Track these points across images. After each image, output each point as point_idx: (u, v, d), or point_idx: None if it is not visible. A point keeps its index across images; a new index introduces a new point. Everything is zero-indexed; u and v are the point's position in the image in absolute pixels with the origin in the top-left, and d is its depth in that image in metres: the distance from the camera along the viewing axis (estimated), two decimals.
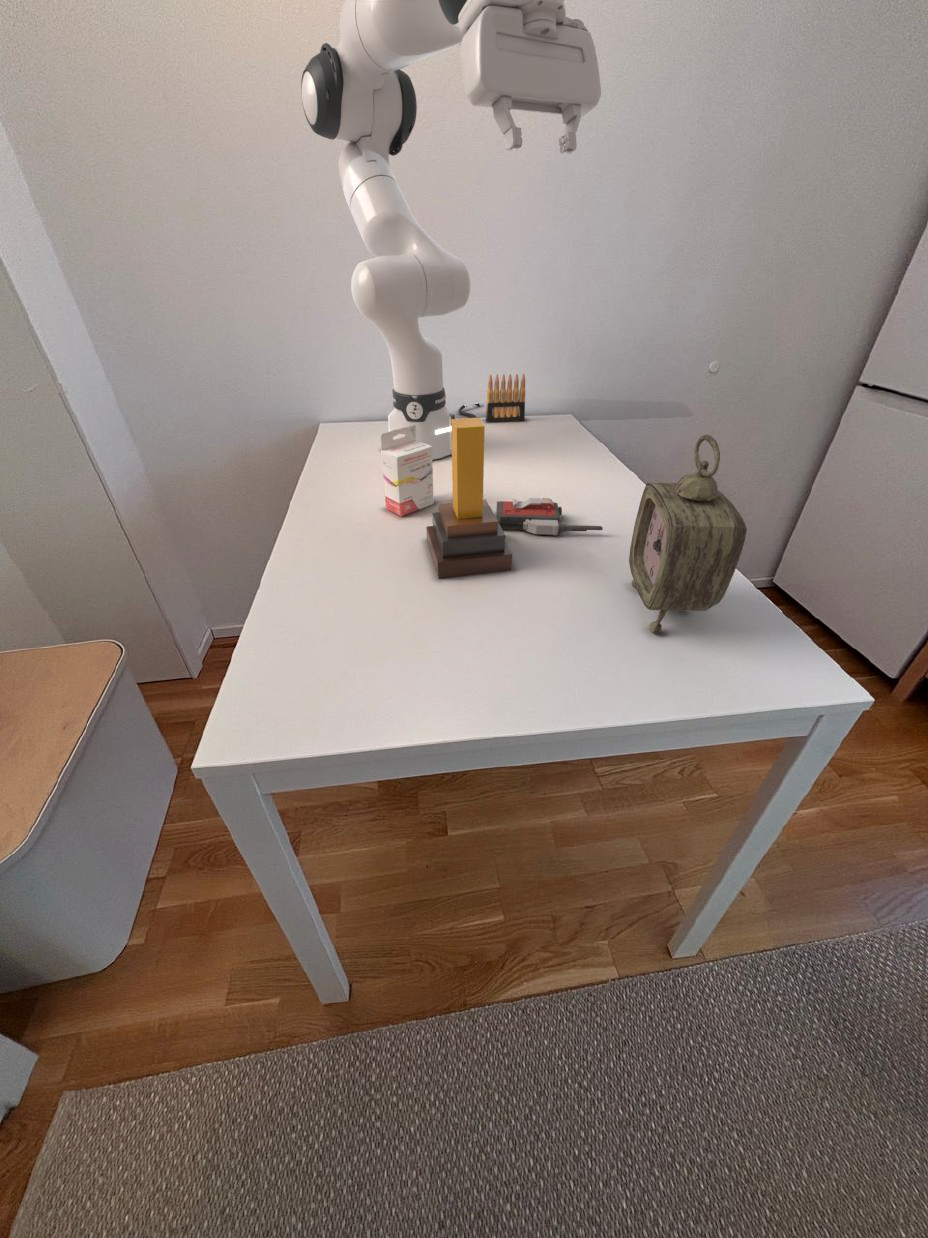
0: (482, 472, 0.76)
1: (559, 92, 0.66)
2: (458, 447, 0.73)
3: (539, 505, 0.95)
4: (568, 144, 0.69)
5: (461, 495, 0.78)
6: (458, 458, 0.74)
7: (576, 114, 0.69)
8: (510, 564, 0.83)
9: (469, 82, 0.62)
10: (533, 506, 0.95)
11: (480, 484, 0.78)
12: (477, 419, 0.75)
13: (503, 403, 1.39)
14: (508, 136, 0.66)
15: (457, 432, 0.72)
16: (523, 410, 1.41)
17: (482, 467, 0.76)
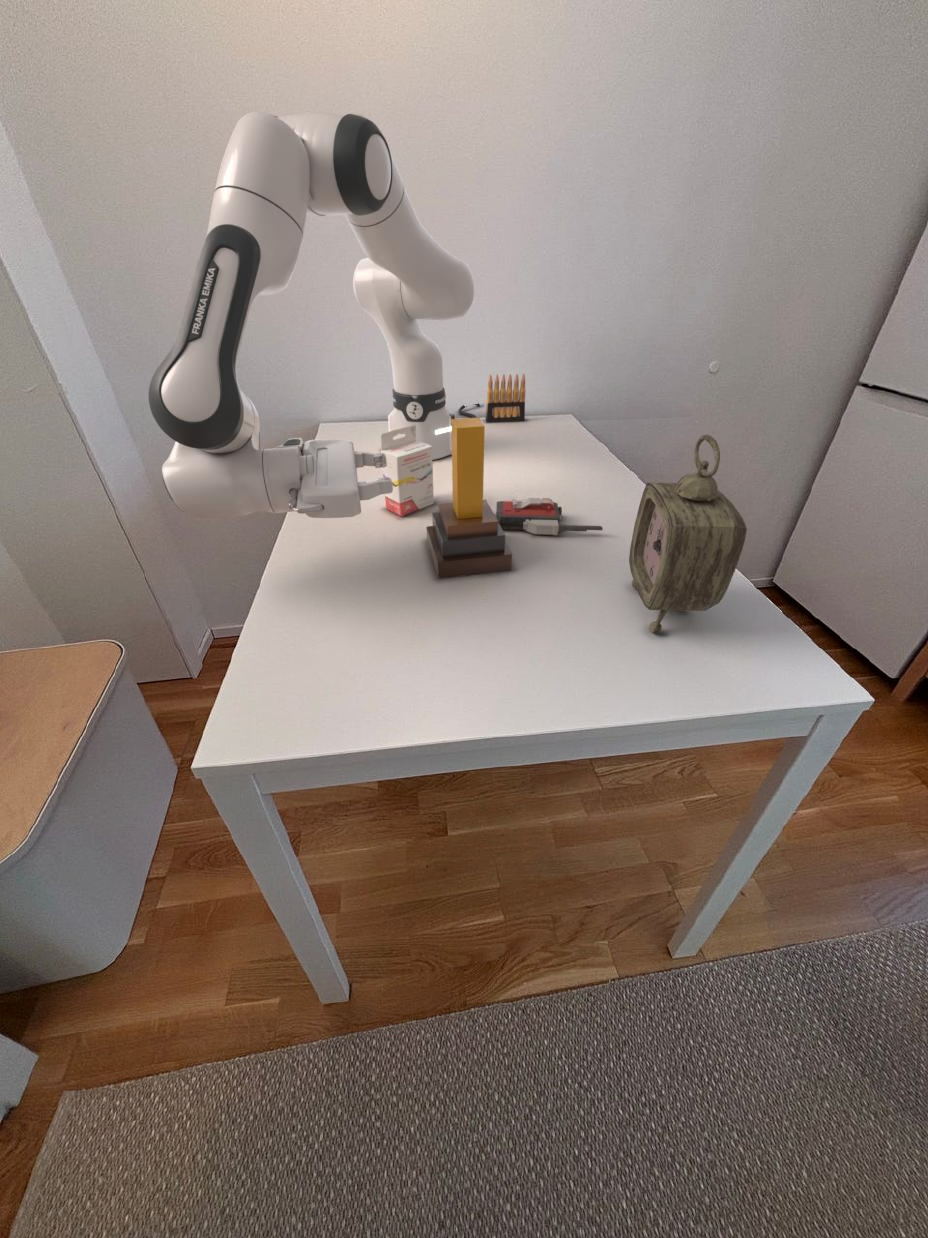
0: (482, 472, 0.76)
1: None
2: (458, 447, 0.73)
3: (539, 505, 0.95)
4: None
5: (461, 495, 0.78)
6: (458, 458, 0.74)
7: None
8: (510, 564, 0.83)
9: None
10: (533, 506, 0.95)
11: (480, 484, 0.78)
12: (477, 419, 0.75)
13: (503, 403, 1.39)
14: None
15: (457, 432, 0.72)
16: (523, 410, 1.41)
17: (482, 467, 0.76)
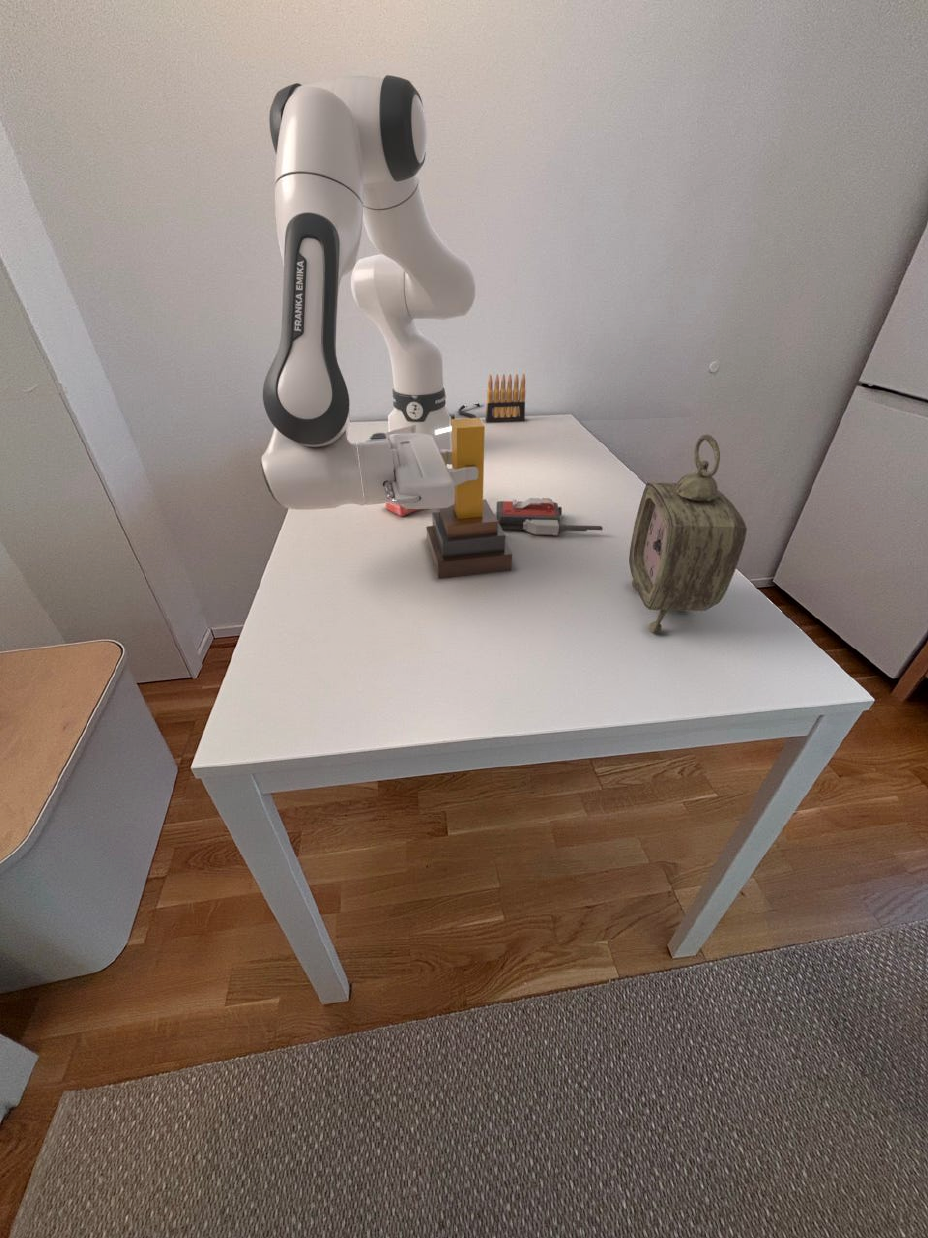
0: (482, 472, 0.76)
1: None
2: (458, 447, 0.73)
3: (539, 505, 0.95)
4: None
5: (461, 496, 0.78)
6: (458, 458, 0.74)
7: None
8: (510, 564, 0.83)
9: None
10: (533, 506, 0.95)
11: (480, 484, 0.78)
12: (477, 419, 0.75)
13: (503, 403, 1.39)
14: None
15: (457, 432, 0.72)
16: (523, 410, 1.41)
17: (482, 467, 0.76)
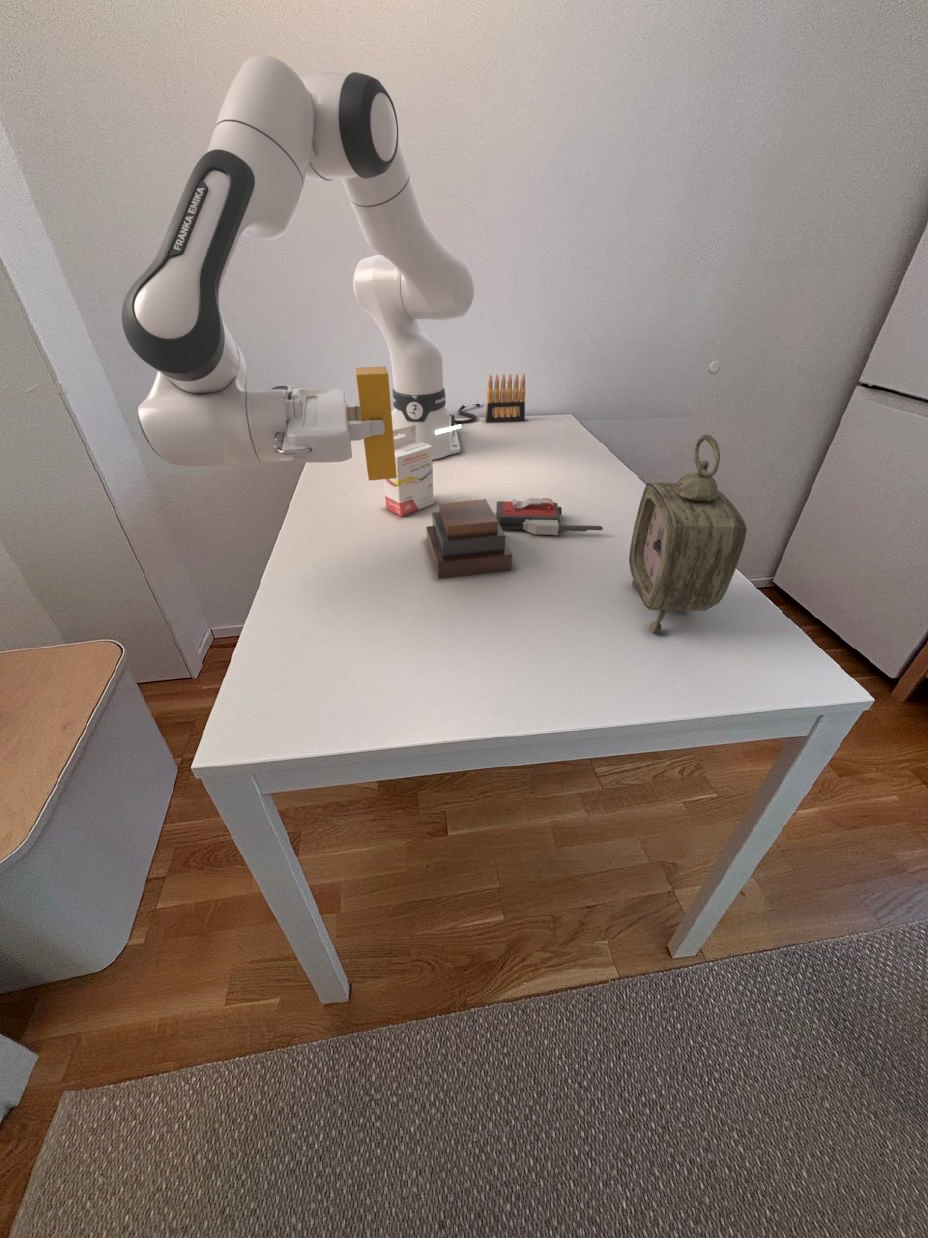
0: (391, 427, 0.70)
1: None
2: (360, 397, 0.67)
3: (539, 505, 0.95)
4: None
5: (370, 454, 0.71)
6: (362, 410, 0.68)
7: None
8: (510, 564, 0.83)
9: None
10: (533, 506, 0.95)
11: (390, 441, 0.71)
12: (383, 367, 0.68)
13: (503, 403, 1.39)
14: None
15: (358, 379, 0.65)
16: (523, 410, 1.41)
17: (390, 421, 0.69)
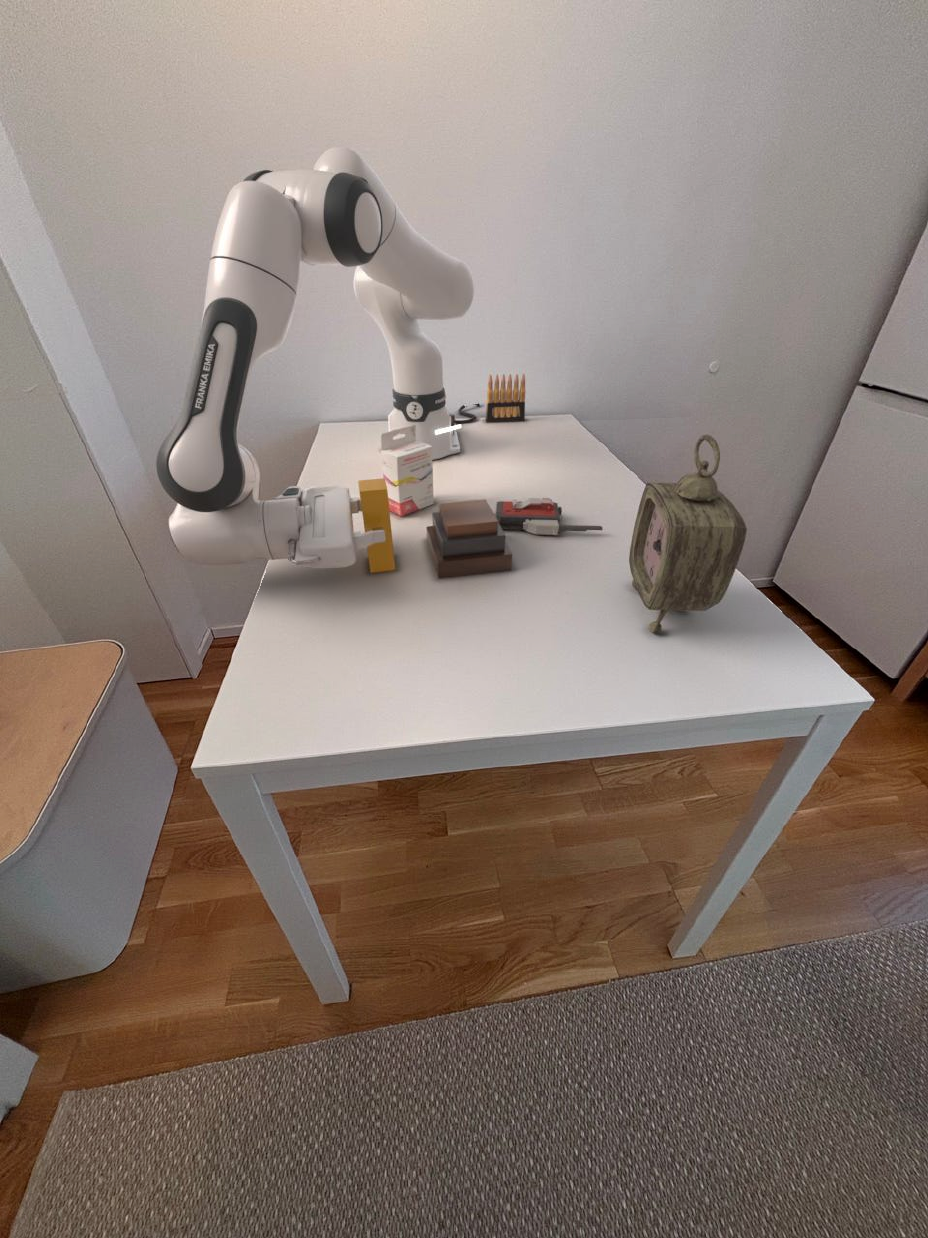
0: (390, 530, 0.79)
1: None
2: (363, 508, 0.76)
3: (539, 505, 0.95)
4: None
5: (372, 552, 0.81)
6: (364, 518, 0.77)
7: None
8: (510, 564, 0.83)
9: None
10: (533, 506, 0.95)
11: (389, 541, 0.80)
12: (383, 480, 0.77)
13: (503, 403, 1.39)
14: None
15: (361, 495, 0.75)
16: (523, 410, 1.41)
17: (389, 526, 0.79)
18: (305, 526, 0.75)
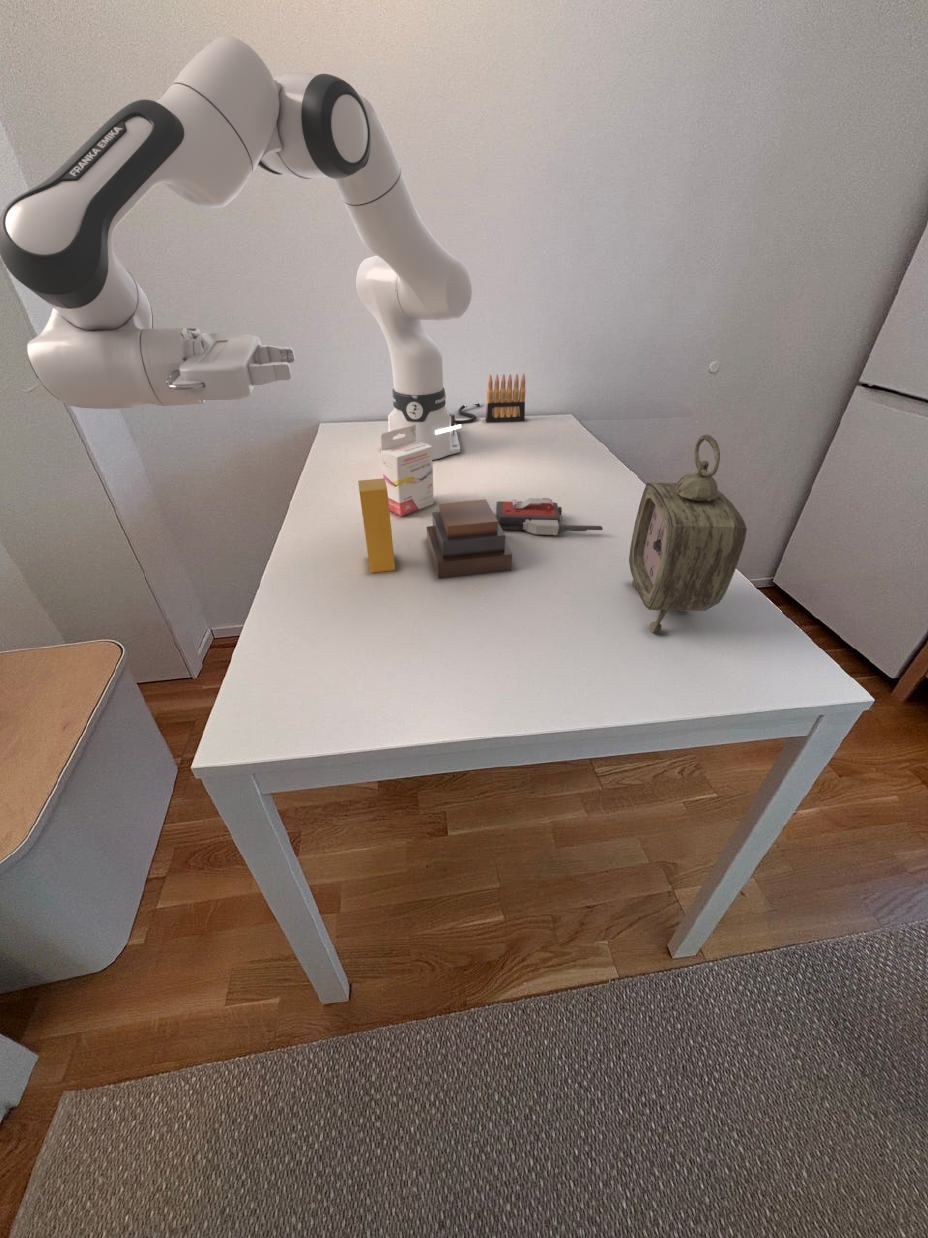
0: (390, 530, 0.79)
1: None
2: (363, 508, 0.76)
3: (539, 505, 0.95)
4: None
5: (372, 552, 0.81)
6: (364, 518, 0.77)
7: None
8: (510, 564, 0.83)
9: None
10: (533, 506, 0.95)
11: (389, 541, 0.80)
12: (383, 480, 0.77)
13: (503, 403, 1.39)
14: None
15: (361, 495, 0.75)
16: (523, 410, 1.41)
17: (389, 526, 0.79)
18: (193, 356, 0.63)
